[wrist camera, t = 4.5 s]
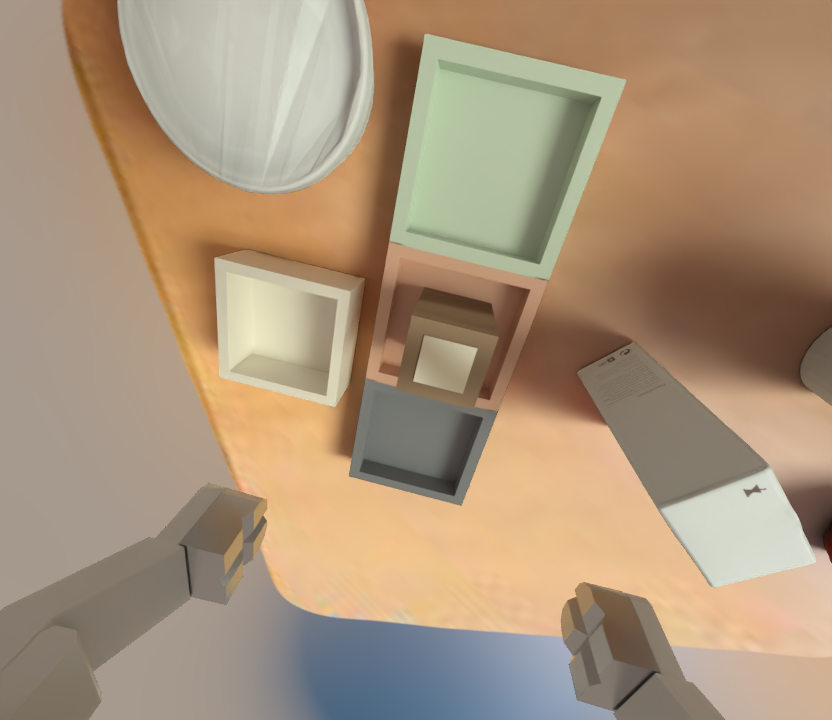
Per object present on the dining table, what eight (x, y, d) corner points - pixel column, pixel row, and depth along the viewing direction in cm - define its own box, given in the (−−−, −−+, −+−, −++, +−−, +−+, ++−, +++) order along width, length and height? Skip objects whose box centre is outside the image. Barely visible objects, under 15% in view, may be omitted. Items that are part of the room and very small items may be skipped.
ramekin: (402, 183, 21) (384, 180, 17) (234, 202, 23) (175, 205, 18) (375, -81, 17) (340, -190, 12) (168, -32, 18) (65, -109, 14)
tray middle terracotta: (395, 236, 22) (389, 240, 21) (542, 273, 22) (549, 279, 20) (372, 366, 27) (365, 379, 25) (495, 397, 27) (497, 412, 25)
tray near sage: (429, 49, 18) (425, 33, 16) (610, 91, 18) (626, 79, 16) (395, 238, 23) (389, 242, 21) (541, 274, 22) (548, 281, 21)
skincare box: (573, 371, 25) (654, 506, 14) (633, 339, 23) (775, 463, 13) (612, 430, 26) (712, 593, 16) (671, 404, 25) (826, 564, 14)
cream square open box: (247, 249, 24) (214, 257, 21) (365, 278, 24) (350, 291, 21) (247, 356, 28) (219, 377, 25) (350, 382, 28) (335, 407, 24)
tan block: (423, 286, 23) (410, 315, 18) (491, 303, 23) (499, 337, 18) (409, 347, 25) (393, 390, 20) (472, 363, 25) (473, 410, 20)
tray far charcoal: (372, 365, 27) (365, 377, 25) (495, 396, 26) (497, 411, 25) (355, 459, 31) (348, 476, 29) (461, 487, 31) (461, 505, 29)
